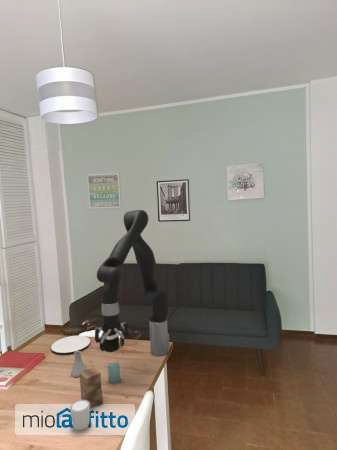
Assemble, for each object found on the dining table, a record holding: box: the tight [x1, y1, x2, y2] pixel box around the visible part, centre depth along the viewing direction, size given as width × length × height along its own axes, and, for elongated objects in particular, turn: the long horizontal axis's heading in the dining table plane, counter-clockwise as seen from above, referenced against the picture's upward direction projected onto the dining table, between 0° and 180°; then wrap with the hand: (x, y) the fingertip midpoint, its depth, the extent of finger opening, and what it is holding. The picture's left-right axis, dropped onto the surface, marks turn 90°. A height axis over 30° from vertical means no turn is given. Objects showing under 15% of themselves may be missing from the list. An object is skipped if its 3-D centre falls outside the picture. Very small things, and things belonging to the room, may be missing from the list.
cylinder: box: [107, 361, 121, 385], centre depth 137 cm, size 5×5×7 cm
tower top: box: [79, 366, 102, 394], centre depth 122 cm, size 6×6×6 cm
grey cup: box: [69, 399, 91, 431], centre depth 110 cm, size 7×7×7 cm
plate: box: [50, 335, 91, 354], centre depth 172 cm, size 21×21×2 cm
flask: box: [70, 350, 88, 378], centre depth 144 cm, size 7×7×10 cm
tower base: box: [80, 387, 103, 409], centre depth 122 cm, size 7×7×6 cm
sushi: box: [103, 334, 120, 353], centre depth 167 cm, size 8×8×8 cm
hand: (112, 348), depth 136 cm, fingers open, 8 cm apart
